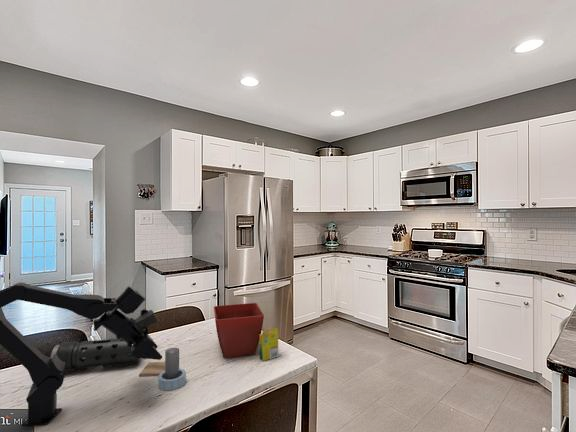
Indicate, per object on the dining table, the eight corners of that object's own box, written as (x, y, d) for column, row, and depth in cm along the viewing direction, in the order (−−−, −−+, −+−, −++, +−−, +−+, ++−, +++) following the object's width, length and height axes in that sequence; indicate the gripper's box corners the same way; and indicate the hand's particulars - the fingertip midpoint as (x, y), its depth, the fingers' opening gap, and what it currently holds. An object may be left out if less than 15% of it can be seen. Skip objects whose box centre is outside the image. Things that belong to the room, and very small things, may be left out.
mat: (165, 375, 107) (165, 373, 107) (139, 376, 106) (139, 374, 106) (173, 363, 116) (173, 361, 116) (148, 364, 115) (148, 362, 115)
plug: (177, 386, 100) (177, 353, 100) (163, 387, 99) (163, 353, 100) (180, 379, 104) (180, 347, 104) (167, 380, 104) (167, 347, 104)
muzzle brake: (137, 369, 112) (137, 340, 112) (48, 379, 104) (48, 349, 105) (142, 357, 121) (142, 331, 121) (61, 366, 114) (61, 338, 114)
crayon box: (275, 354, 124) (275, 325, 124) (278, 357, 122) (278, 327, 122) (258, 358, 120) (259, 329, 120) (262, 361, 118) (262, 331, 118)
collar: (181, 389, 98) (181, 380, 98) (154, 391, 97) (154, 381, 97) (188, 376, 106) (188, 367, 106) (163, 377, 106) (163, 368, 106)
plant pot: (215, 363, 116) (215, 319, 116) (213, 343, 134) (213, 305, 135) (264, 357, 121) (264, 315, 121) (256, 339, 140) (256, 302, 140)
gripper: (144, 311, 89) (183, 341, 95) (137, 297, 105) (171, 323, 111) (113, 344, 85) (156, 373, 91) (111, 324, 101) (147, 350, 106)
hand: (158, 352), depth 100 cm, fingers open, 9 cm apart
